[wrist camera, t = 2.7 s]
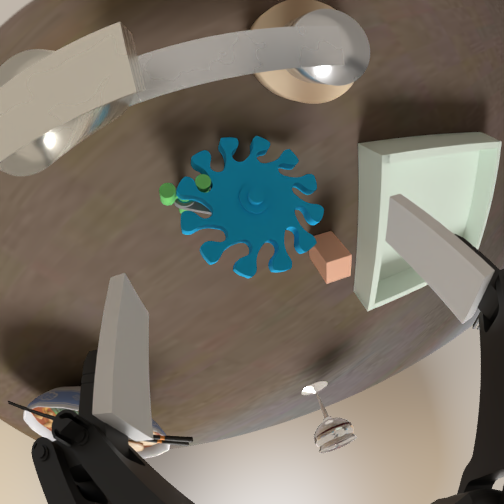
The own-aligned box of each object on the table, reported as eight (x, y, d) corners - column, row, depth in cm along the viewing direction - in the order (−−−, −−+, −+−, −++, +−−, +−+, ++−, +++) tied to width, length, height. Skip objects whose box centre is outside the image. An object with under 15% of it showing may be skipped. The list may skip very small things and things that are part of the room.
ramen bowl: (32, 404, 34) (27, 442, 27) (15, 333, 24) (-1, 387, 18) (155, 432, 45) (159, 468, 38) (194, 379, 35) (202, 433, 29)
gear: (328, 151, 20) (324, 285, 17) (298, 182, 25) (290, 292, 23) (179, 115, 17) (142, 257, 15) (177, 157, 23) (152, 271, 21)
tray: (480, 131, 23) (501, 141, 20) (459, 246, 34) (474, 260, 31) (357, 143, 22) (381, 155, 19) (353, 291, 32) (367, 311, 29)
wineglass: (289, 393, 44) (311, 453, 35) (323, 374, 43) (350, 435, 33) (306, 400, 48) (328, 453, 39) (337, 383, 47) (362, 436, 37)
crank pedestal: (338, 5, 14) (352, 1, 13) (352, 96, 19) (366, 99, 18) (236, 8, 14) (242, 1, 12) (256, 108, 18) (264, 111, 17)
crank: (339, 17, 13) (496, 3, 3) (349, 81, 16) (505, 120, 6) (67, 74, 12) (-77, 99, 2) (88, 142, 15) (-23, 250, 5)
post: (331, 230, 26) (351, 254, 23) (331, 250, 28) (350, 275, 24) (308, 237, 26) (326, 262, 23) (309, 257, 27) (326, 283, 24)
